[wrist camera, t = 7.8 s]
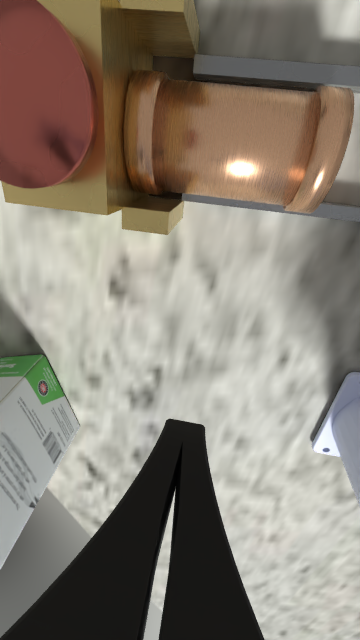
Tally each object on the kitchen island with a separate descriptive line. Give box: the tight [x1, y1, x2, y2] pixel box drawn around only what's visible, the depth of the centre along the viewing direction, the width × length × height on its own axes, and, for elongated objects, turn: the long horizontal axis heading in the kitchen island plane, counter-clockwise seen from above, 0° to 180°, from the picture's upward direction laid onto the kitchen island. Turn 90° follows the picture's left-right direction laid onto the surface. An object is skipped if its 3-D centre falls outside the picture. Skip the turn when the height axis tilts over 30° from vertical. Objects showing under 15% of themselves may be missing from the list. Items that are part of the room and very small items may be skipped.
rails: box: [182, 54, 360, 222], centre depth 13 cm, size 11×6×1 cm, turn 85°
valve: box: [0, 0, 200, 235], centre depth 11 cm, size 9×8×8 cm
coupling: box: [123, 70, 354, 214], centre depth 12 cm, size 8×4×4 cm, turn 85°
